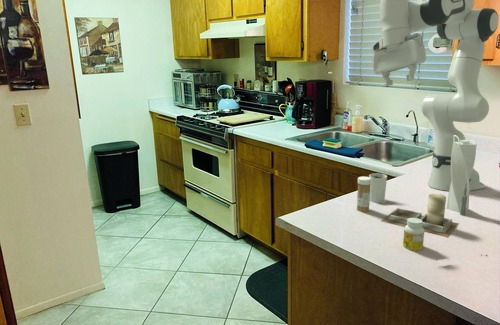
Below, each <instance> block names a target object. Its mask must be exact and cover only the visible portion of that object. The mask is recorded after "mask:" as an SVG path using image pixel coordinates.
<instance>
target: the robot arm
mask: <svg viewBox="0 0 500 325" xmlns="http://www.w3.org/2000/svg"><path fill="white" fill-rule="evenodd" d="M474 4H475V1H474V0H414V1H410V0H380V3H379V17H380V23H381V37H380V38H379V39H378V40H377V41H376V42H375V43H374V44H373V45H372V47H371V51H372V52H373V55H372V70H373V73H374V74H375V75H382V78H383V79H384V82H385V86H386V87H390V86H393V85H394V83H393V82H394V81H393V79H391V78H390V76H391V73H393V72H395V71H398V70H403V69H406V68H408V74H406V81H407V82H411V81H414V80H415V73H416V71H417V65H421V64H424V63H425V62H426V60H427V54H426V48H425V43H424V40H423V36H422V35H421V34H420V33H417V32H420V31H423V30H425V29H429V28H432V27H436V33H437V35H438V37H439V39H442V40H446V41H451V40H454V41H455V40H458V41H459V43H458V44H457V46H456V48H455V51H454V54H453V56H452V59H451V62H450V66H449V69H448V73H447V76H446V78H447V81H448V82H449V83H450V84H451V85H452V86H453V87H455V88H456V89H457V90H456V93H454V94H453V93H434V94H433V93H432V94H428V95H426V96H425V97H424V98H423V100H422V102H421V106H420V108H421V113H422V115H423V116H424V117H425V118H426V119H427V120H428V121H429V122H430V124H431V126H432V129H433V132H434V152H433V153H432V167H431V172H430V176H429V178H428V181H427V186H428V187H431V188H433V189H435V190H441V191H445V192H447V191H448V192H449V190H450V185H451V181H452V179H451V154H452V147H453V136H454V135H456V136H457V137H458V138H459V140H466V137H465V135H464V133H463V132H462V131H460V130H458V129H457V128H456V127H455V124H454V122H456V123H457V122H458V123H467V124H470V123H481V122H482V121H483V120H485V119H486V117H487V116H488V114H489V112H490V105H489V102H488V100H487V99H486V98H485V97H484V96H483V95H482V94H481V92H480V89H479V84H478V82H479V76H480V75H479V74H480V71H481V68H482V63H483V60H484V55H485V47H486V46H485V42H487V41H488V40H489V39H490V37H492V36H493V35H494V34H495V33H496V30H497V29H498V26H499V13H498V12H497V11H496V9H494V8H489V7H488V8H486V7H484V8H474ZM412 33H413V34H412ZM457 137H455V142H459V141H458V138H457ZM480 181H481V180H480V174H479V172H478V170H476V169H475V168H473V171H472V174H471V176H470V179H469V192H470V191H477V190H478V191H479V190H483V189H486V185H485V184H484V183H482V182H480Z"/></svg>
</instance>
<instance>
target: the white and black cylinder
mask: <svg viewBox="0 0 500 325" xmlns="http://www.w3.org/2000/svg"><path fill="white" fill-rule="evenodd" d="M368 177H369V178H371V185H370V202H372V203H377V204H379V203H380V204H381V203H384V202H385V199H386V191H387V190H386V188H387V180H388V175H386V174H383V173H378V172H377V173H375V172H374V173H371V174H369V175H368Z"/></svg>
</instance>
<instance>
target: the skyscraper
mask: <svg viewBox="0 0 500 325" xmlns="http://www.w3.org/2000/svg"><path fill="white" fill-rule="evenodd" d="M455 137H457V136H456V135H454V136H453V147H452V154H451V179H452V181H451V185H450V190H449V191H448V196H447V200H446V201H447V202H446V207H445V210H450V211H452V212H456V213H459V215H460V216H464V217H465V216H466V212H467V211H469V208H470V207H469V206H470V205H469V204H470V191H469V179H470V176H471V174H472V171H473V169H474V167H475V162H476V155H477V154H476V153H477V142H475V141H474V140H473V139H469V140H468V139H465V140H459V138H458V137H457V138H458V141H459V142H455Z"/></svg>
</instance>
